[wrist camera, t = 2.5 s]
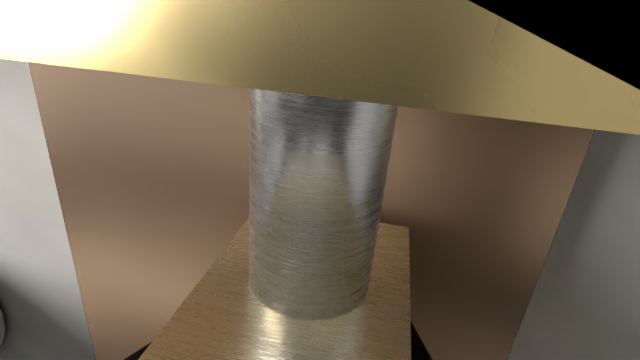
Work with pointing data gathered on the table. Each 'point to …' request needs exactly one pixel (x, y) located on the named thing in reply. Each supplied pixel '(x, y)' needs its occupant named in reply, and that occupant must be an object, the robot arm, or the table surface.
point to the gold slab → (337, 53)
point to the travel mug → (2, 327)
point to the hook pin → (305, 245)
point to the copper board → (233, 191)
